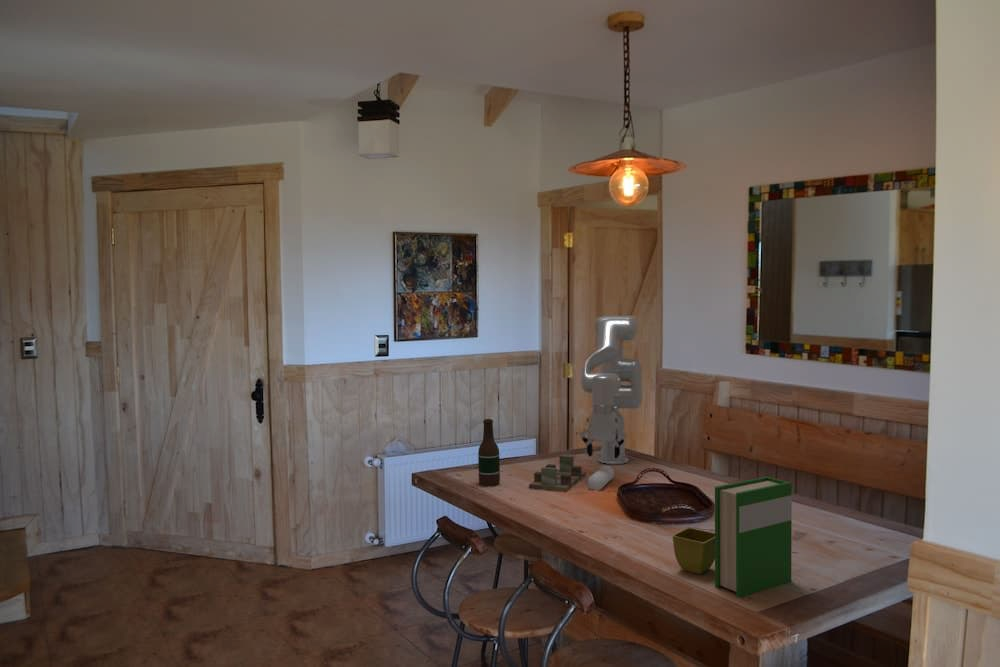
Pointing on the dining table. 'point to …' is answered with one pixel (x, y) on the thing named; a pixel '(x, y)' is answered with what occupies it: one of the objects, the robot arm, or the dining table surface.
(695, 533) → the flower pot
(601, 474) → the roll
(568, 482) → the cradle
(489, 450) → the beer bottle
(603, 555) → the dining table surface
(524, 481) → the dining table surface
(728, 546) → the hardback book
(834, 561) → the dining table surface
